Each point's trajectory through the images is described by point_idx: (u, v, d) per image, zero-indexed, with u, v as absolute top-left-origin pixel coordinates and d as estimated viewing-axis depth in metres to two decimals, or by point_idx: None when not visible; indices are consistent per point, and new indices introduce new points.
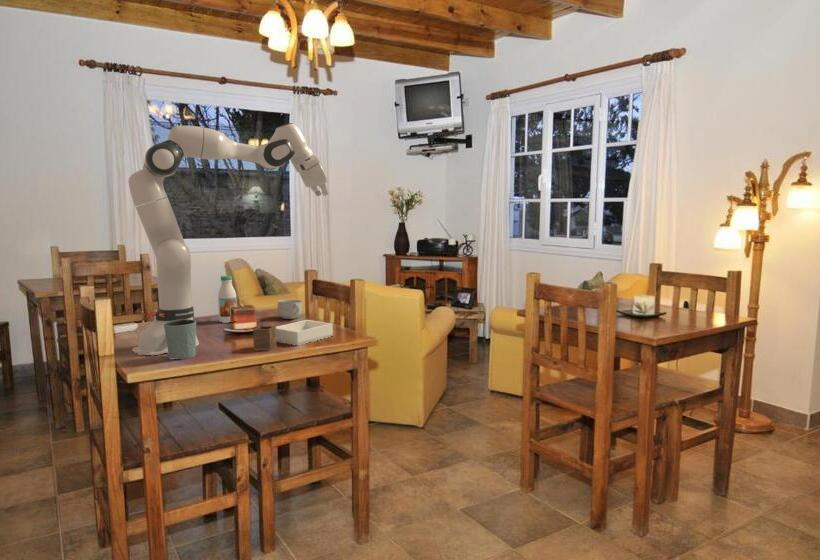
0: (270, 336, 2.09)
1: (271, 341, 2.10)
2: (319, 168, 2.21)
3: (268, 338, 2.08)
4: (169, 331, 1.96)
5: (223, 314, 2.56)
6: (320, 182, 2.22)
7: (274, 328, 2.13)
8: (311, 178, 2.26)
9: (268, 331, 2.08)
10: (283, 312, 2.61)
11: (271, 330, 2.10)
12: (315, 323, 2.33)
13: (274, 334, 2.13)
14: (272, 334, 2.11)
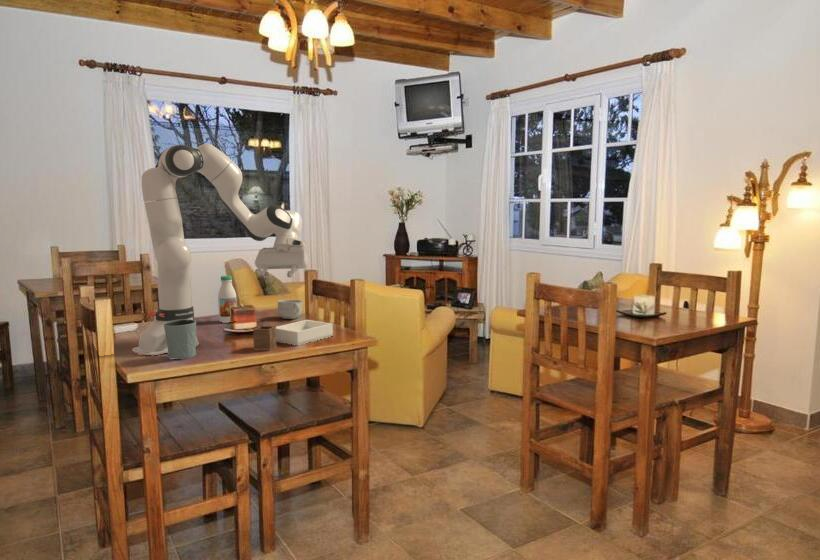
0: (270, 336, 2.09)
1: (271, 341, 2.10)
2: (307, 255, 2.28)
3: (268, 338, 2.08)
4: (169, 331, 1.96)
5: (223, 314, 2.56)
6: (304, 261, 2.23)
7: (274, 328, 2.13)
8: (290, 256, 2.25)
9: (268, 331, 2.08)
10: (283, 312, 2.61)
11: (271, 330, 2.10)
12: (315, 323, 2.33)
13: (274, 334, 2.13)
14: (272, 334, 2.11)
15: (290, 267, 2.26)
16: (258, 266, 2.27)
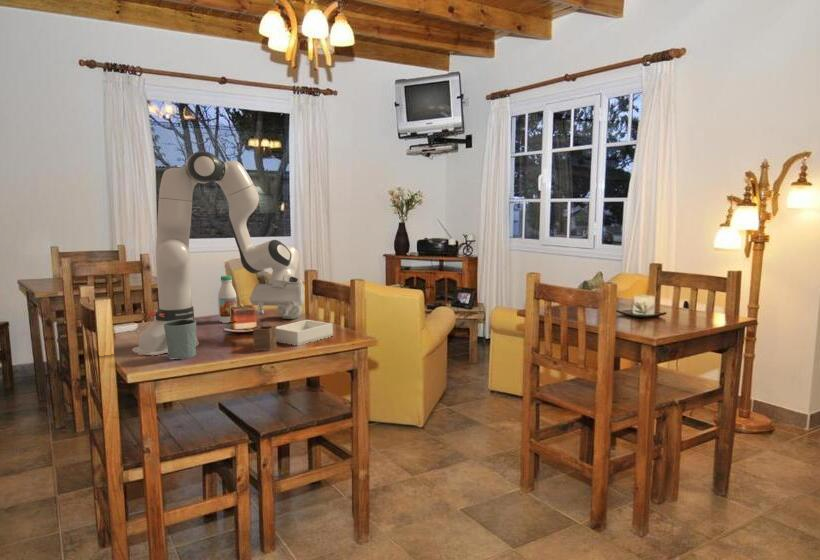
0: (270, 336, 2.09)
1: (271, 341, 2.10)
2: None
3: (268, 338, 2.08)
4: (169, 331, 1.96)
5: (223, 314, 2.56)
6: (301, 299, 2.20)
7: (274, 328, 2.13)
8: (286, 293, 2.21)
9: (268, 331, 2.08)
10: None
11: (271, 330, 2.10)
12: (315, 323, 2.33)
13: (274, 334, 2.13)
14: (272, 334, 2.11)
15: (286, 304, 2.22)
16: (253, 302, 2.22)
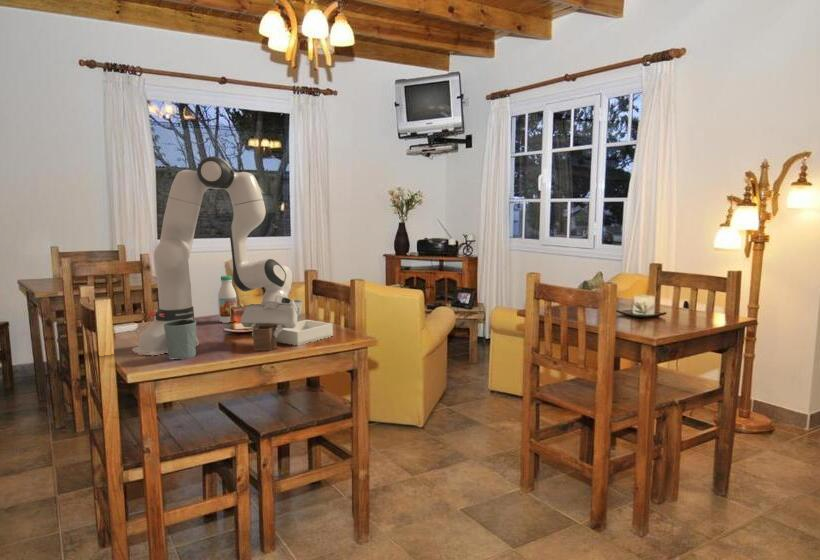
0: (270, 336, 2.09)
1: (271, 341, 2.10)
2: None
3: (268, 338, 2.08)
4: (169, 331, 1.96)
5: (223, 314, 2.56)
6: (293, 321, 2.12)
7: (274, 328, 2.13)
8: (278, 315, 2.14)
9: (268, 331, 2.08)
10: None
11: (271, 330, 2.10)
12: (315, 323, 2.33)
13: None
14: None
15: None
16: (244, 324, 2.15)
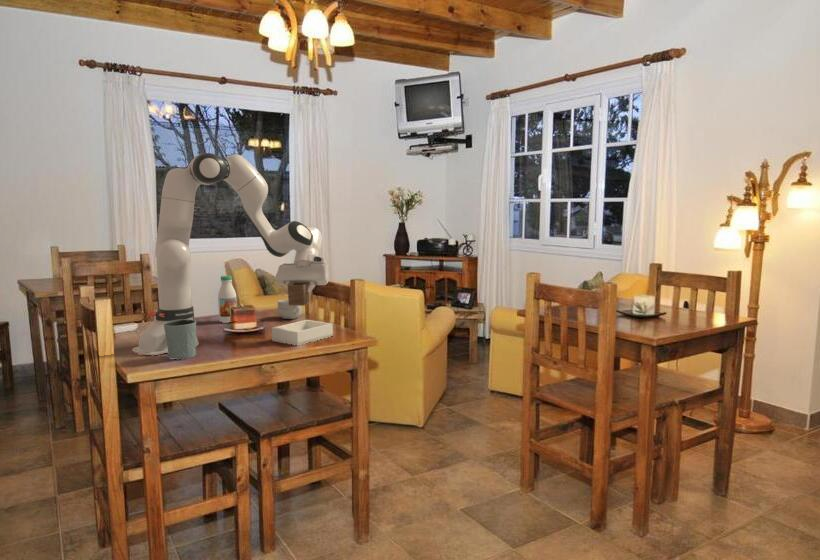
0: (304, 291, 2.20)
1: (305, 296, 2.21)
2: None
3: (302, 293, 2.20)
4: (169, 331, 1.96)
5: (223, 314, 2.56)
6: (326, 278, 2.23)
7: (307, 285, 2.24)
8: (311, 272, 2.25)
9: (302, 287, 2.19)
10: (283, 312, 2.61)
11: (305, 286, 2.21)
12: (315, 323, 2.33)
13: None
14: (305, 290, 2.22)
15: (311, 283, 2.26)
16: (278, 282, 2.26)
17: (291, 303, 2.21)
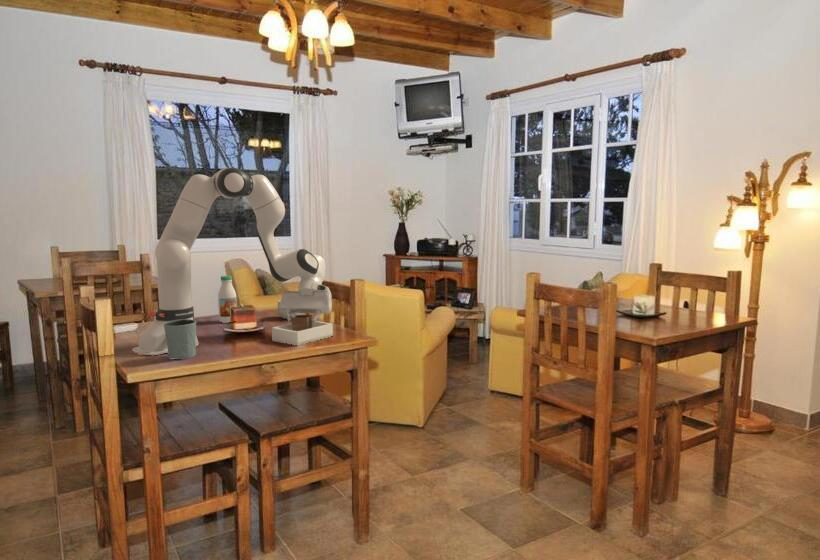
0: (307, 324, 2.23)
1: None
2: None
3: (306, 326, 2.23)
4: (169, 331, 1.96)
5: (223, 314, 2.56)
6: (329, 307, 2.26)
7: (311, 317, 2.27)
8: (314, 301, 2.28)
9: (306, 319, 2.22)
10: None
11: (308, 319, 2.24)
12: (315, 323, 2.33)
13: (311, 322, 2.27)
14: (309, 323, 2.25)
15: (314, 312, 2.28)
16: (282, 310, 2.29)
17: None
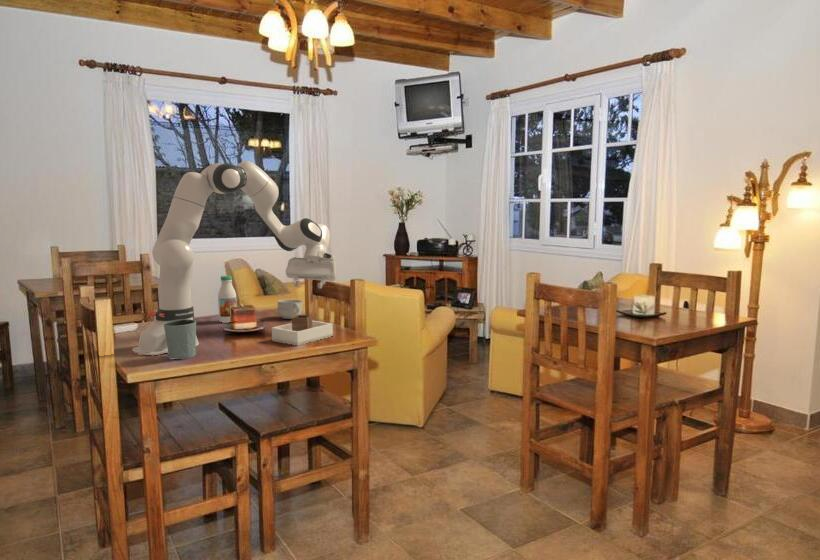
0: (307, 324, 2.23)
1: None
2: None
3: (306, 326, 2.23)
4: (169, 331, 1.96)
5: (223, 314, 2.56)
6: (334, 274, 2.37)
7: (311, 317, 2.27)
8: (320, 268, 2.39)
9: (306, 319, 2.22)
10: (283, 312, 2.61)
11: (308, 319, 2.24)
12: (315, 323, 2.33)
13: (311, 322, 2.27)
14: (309, 323, 2.25)
15: (319, 278, 2.39)
16: (288, 275, 2.39)
17: None
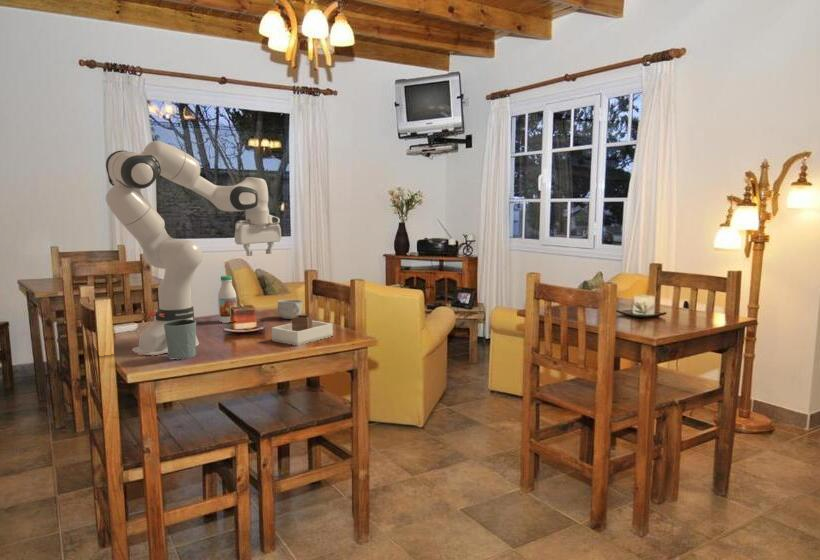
0: (307, 324, 2.23)
1: None
2: None
3: (306, 326, 2.23)
4: (169, 331, 1.96)
5: (223, 314, 2.56)
6: None
7: (311, 317, 2.27)
8: (269, 233, 2.34)
9: (306, 319, 2.22)
10: (283, 312, 2.61)
11: (308, 319, 2.24)
12: (315, 323, 2.33)
13: (311, 322, 2.27)
14: (309, 323, 2.25)
15: None
16: None
17: None
